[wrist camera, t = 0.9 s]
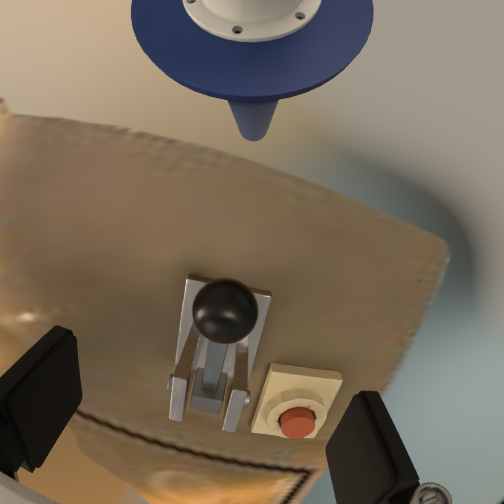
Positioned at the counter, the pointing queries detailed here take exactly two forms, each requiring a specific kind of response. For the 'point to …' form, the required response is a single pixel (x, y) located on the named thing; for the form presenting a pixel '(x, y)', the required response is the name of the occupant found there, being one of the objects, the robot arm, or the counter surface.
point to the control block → (294, 396)
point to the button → (297, 422)
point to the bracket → (194, 356)
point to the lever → (220, 335)
